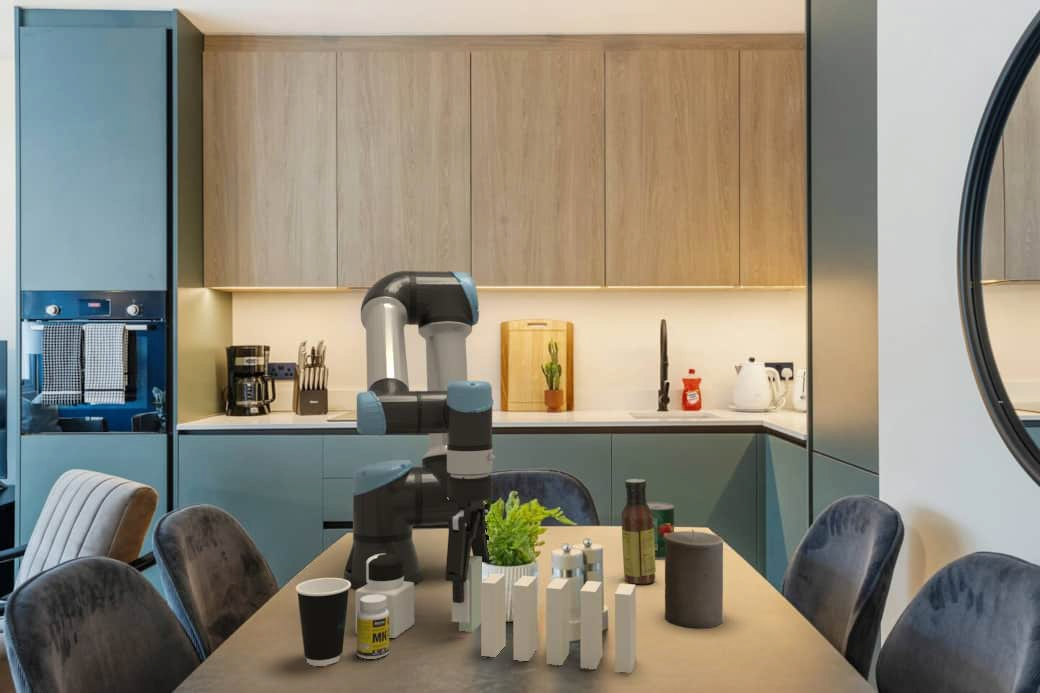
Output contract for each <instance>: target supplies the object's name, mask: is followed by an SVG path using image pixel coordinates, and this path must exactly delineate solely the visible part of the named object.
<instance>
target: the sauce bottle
mask: <svg viewBox="0 0 1040 693" xmlns="http://www.w3.org/2000/svg"><path fill="white" fill-rule="evenodd" d="M624 486H625V489H626V504H625V506H624V507H623V510H622V511H621V537H622V539H621V541H622V560H623V574H624V580H625V581H626V582H627V583H628V584H633V585H649V584H652V583H654V582H655V581H656V572H657V571H656V559H655V546H654V528H653V520H652V519H653V518H652V512H651V510H650V508H649V506H648V505H647V503H648V502H647V499H646V497H647V496H646V489H647V482H646V479H643V478H642V479H641V478H630V479H626V480H625V485H624Z"/></svg>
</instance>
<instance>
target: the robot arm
mask: <svg viewBox="0 0 1040 693" xmlns="http://www.w3.org/2000/svg"><path fill="white" fill-rule="evenodd" d="M479 304H480V303H479V297H478V291H477V287H476V284H475V281H474V279H473V278H472V276H471V275H470V274H469V273H467V272H462V271H458V272H457V271H454V270H448V271H430V270H429V271H424V270H423V271H422V270H420V271H415V270H414V271H412V270H410V271H409V270H399V271H395V272H391V273H389V274H387V275H385V276H384V277H382V278H380V279H379V280H378V281H376V282H375V283H374V284H373V285H372V286H371V287H370V288H369V290H368V291H367V292H366V294H365V296H364V298H363V300H362V303H361V305H360V306H361V307H360V320H361V324H362V326H363V328H364V329H365V343H366V347H365V348H366V350H365V352H366V390H367V391H362V392H358V394H357V395H356V430H357V432H358V433H359V434H360V435H367V436H368V435H369V436H370V435H371V436H381V437H382V436H396V435H418V434H419V435H422V434H423V435H424V434H426V435H428V451H427V452H426V453H424V455H423V456H422V457H421V466H414V465H413V462H412V461H411V460H410V459H392V460H391V459H390V460H386V461H380V462H374V463H371V464H367V465H364V466H361V467H360V468H358V469H357V470H356V471H355V472H354V475H353V480H352V481H353V482H352V484H353V485H352V491H351V495H352V496H353V497H352V500H353V502H352V504H353V505H352V513H353V514H352V546H351V549H350V551H349V555H348V558H347V560H346V561H347V562H346V565H345V568H344V572H343V579H345V580H348V581H349V582H350V583H351V587H350V588H351V589H353V590H354V589H355V590H358V589H359V588H361V587H363V586H365V585H367V584H368V583H367V582H366V561H367V560H368V559H369V558H370V557H372V556H374V555H377V554H384V553H391V554H397V555H399V556H401V557H402V558H403V559H404V581H406V582H413V583H414V585H416V584H417V583H419V582H420V581H421V579H422V565H421V563H420V559H419V556H418V554H417V549H416V547H415V544H414V540H413V527H417V526H418V527H419V526H435V525H436V526H437V525H440V526H441V525H448V536H447V538H448V539H447V547H446V548H447V550H446V551H447V552H446V565H445V578H444V579H445V581H446V582H451V623H452V622H453V623H459V622H461V623H468V622H469V580H467V573H468V566H469V559H470V556H471V553H472V556H482V562H487V563H490V561H489V558H490V557H489V552H488V548H487V540H489V536H488V535H486V534H485V530H486V532H487V528H486V527H487V526H486V525H487V523H486V521H485V515H487V514H488V512H489V511H490V512H491V501H488V500H490V499H492V498H493V495H494V481H493V480H494V478H493V476H492V475H491V473H492V472H493V462H494V461H495V460H496V455H494V454H493V406H494V399H493V388H492V384H491V383H490V382H489V381H486V380H468V365H467V364H468V360H467V344H466V339H467V338H468V336H470V335H471V333H472V332H473V326H475V325H478V322H479V318H480V310H479ZM406 325H409V326H417V328H418V330H417V331H418V335H420V337H422V339H424V340H425V354H426V357H425V358H426V360H425V362H426V385H427V387H426V388H427V389H426V390H410V386H409V383H410V382H409V374H408V364H407V363H408V362H407V351H406V339H405V337H406V336H405V329H404V328H405V327H406ZM447 497H448V498H449V500H448V499H447ZM483 501H485V502H486V503H487V504H485V503H484V502H483ZM484 504H485V505H484ZM487 522H488V521H487Z"/></svg>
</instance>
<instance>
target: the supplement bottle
mask: <svg viewBox="0 0 1040 693" xmlns="http://www.w3.org/2000/svg"><path fill="white" fill-rule="evenodd" d="M386 607H387V597H386V596H384V595H377V594H374V595H367V596H363V597H361V598H360V609H361V610H360V611H359V612H358V614H357V634H356V654H357V656H359V657H361V658H360V659H362V658H364V659H363V660H366V659H372V658H379V657H382V656H385V655H386V656H388V655H389V653H390V639H389V611H388V610H387V609H386ZM387 654H388V655H387ZM386 656H385V657H386ZM359 657H358V658H359ZM365 658H366V659H365Z"/></svg>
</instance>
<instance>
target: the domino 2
mask: <svg viewBox="0 0 1040 693" xmlns="http://www.w3.org/2000/svg"><path fill="white" fill-rule="evenodd" d="M537 580H538V576H532V575H531V576H530V575H522V576H521V577H520V578H519V579H518V580H516V582H515V583H514V584H513V585H512V589H513V590H512V592H513V596H512V602H513V603H512V607H513V608H512V610H513V613H512V614H513V615H512V617H513V618H512V619H513V622H512V623H513V624H512V625H513V627H512V628H513V630H512V631H513V661H514V660H518V661H517V662H522V661H530V660H531V659H532V657H533V656H534V655H535V653H536V652H537V650H538V587H537V586H538V582H537ZM535 651H536V652H535ZM533 654H534V655H533ZM530 658H531V659H530Z"/></svg>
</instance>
